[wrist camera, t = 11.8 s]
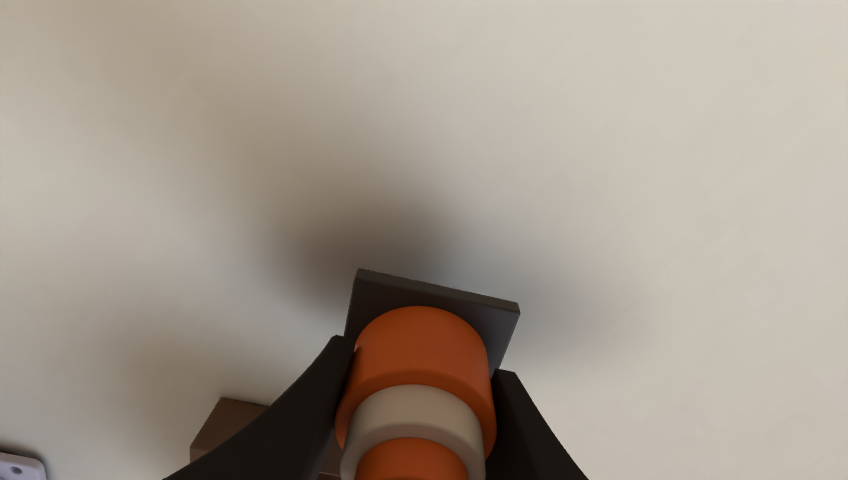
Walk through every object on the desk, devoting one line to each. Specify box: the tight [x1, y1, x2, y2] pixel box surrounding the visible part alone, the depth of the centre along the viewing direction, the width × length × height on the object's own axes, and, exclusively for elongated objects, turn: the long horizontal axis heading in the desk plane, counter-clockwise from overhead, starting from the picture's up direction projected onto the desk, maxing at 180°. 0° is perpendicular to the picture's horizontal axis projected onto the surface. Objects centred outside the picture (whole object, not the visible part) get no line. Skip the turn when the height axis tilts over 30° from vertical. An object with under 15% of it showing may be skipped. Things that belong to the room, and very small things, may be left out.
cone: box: [334, 268, 520, 480], centre depth 11 cm, size 5×5×7 cm
